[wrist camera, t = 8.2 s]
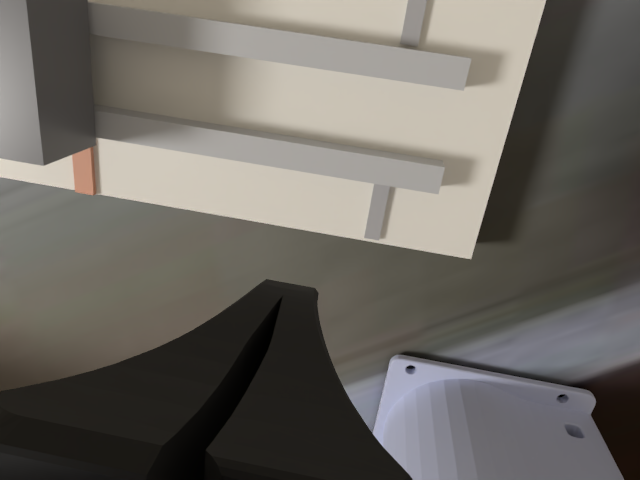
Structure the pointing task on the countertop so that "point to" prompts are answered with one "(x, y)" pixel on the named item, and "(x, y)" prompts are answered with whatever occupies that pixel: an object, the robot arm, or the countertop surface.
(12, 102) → the fader knob
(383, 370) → the countertop surface
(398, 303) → the countertop surface
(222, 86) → the fader console
